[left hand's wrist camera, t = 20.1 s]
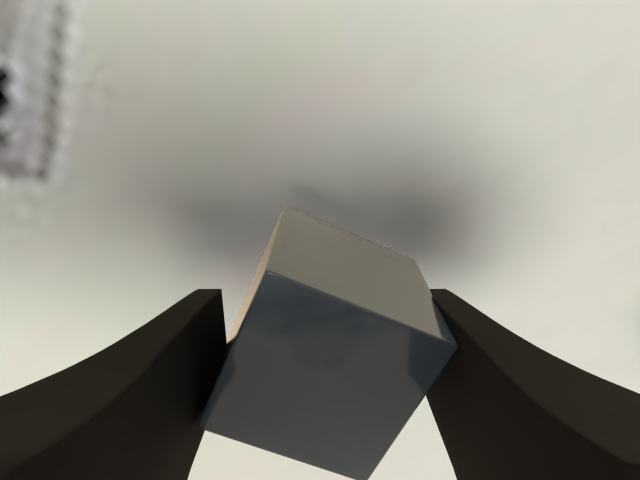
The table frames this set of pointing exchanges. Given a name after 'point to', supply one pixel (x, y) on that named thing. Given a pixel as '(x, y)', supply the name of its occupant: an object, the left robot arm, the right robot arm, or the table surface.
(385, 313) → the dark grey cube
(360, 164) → the table surface
